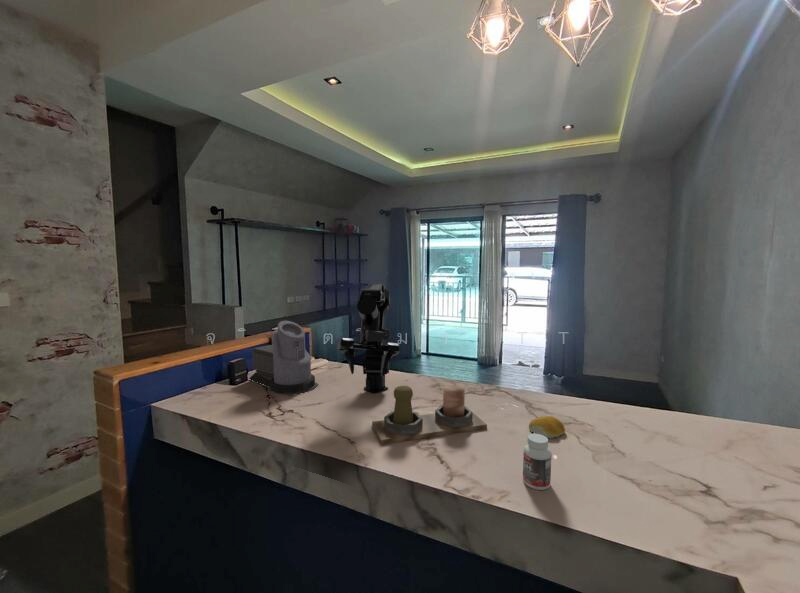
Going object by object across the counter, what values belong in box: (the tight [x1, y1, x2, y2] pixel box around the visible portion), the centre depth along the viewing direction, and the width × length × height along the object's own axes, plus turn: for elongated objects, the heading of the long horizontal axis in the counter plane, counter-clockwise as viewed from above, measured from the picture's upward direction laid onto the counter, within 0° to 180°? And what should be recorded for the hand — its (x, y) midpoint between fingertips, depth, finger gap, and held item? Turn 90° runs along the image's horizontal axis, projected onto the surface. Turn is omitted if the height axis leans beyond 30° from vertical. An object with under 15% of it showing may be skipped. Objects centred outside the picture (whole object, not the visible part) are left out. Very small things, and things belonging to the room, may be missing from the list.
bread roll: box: [528, 415, 566, 439], centre depth 98 cm, size 8×9×4 cm
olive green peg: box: [393, 385, 414, 425], centre depth 98 cm, size 6×6×11 cm
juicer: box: [248, 320, 319, 396], centre depth 136 cm, size 30×16×24 cm, turn 54°
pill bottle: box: [522, 433, 552, 491], centre depth 74 cm, size 5×5×10 cm
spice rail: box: [371, 384, 488, 445], centre depth 100 cm, size 30×11×10 cm, turn 107°
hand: (367, 374), depth 108 cm, fingers open, 9 cm apart
